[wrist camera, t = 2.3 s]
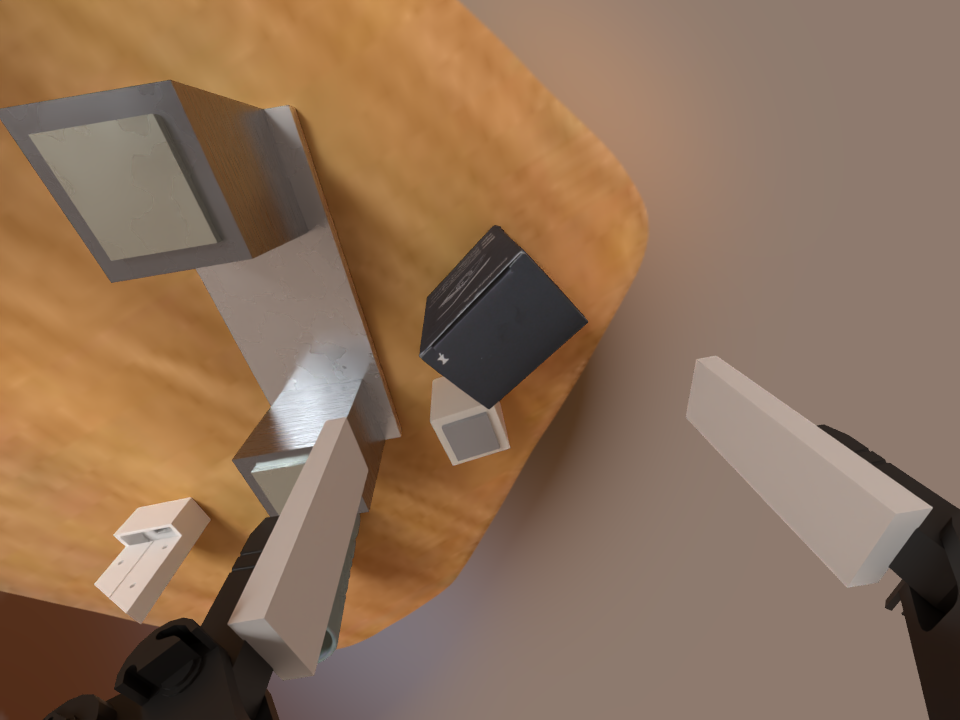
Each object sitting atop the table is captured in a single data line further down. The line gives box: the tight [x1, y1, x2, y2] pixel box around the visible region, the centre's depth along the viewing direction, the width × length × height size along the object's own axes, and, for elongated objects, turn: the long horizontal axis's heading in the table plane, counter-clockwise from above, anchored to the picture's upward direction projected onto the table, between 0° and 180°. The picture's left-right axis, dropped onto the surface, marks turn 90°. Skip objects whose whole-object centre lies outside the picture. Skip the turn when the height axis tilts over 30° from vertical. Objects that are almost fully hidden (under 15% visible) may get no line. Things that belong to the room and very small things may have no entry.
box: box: [419, 225, 588, 409], centre depth 23 cm, size 8×6×11 cm
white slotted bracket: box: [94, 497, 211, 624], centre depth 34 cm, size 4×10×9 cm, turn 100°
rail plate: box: [0, 80, 402, 517], centre depth 24 cm, size 26×10×9 cm, turn 8°
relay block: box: [430, 376, 510, 466], centre depth 30 cm, size 5×5×6 cm
